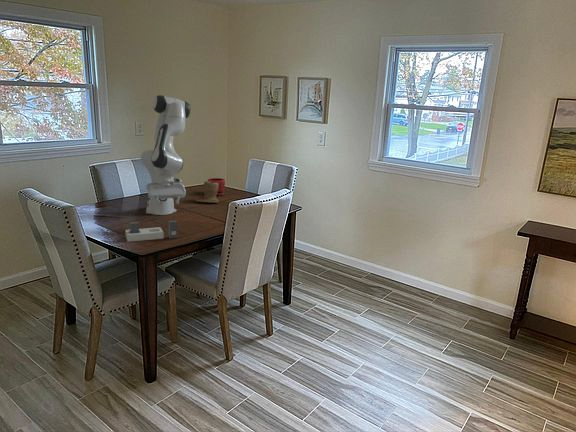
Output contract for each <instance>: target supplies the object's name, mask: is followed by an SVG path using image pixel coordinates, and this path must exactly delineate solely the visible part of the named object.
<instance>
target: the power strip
mask: <svg viewBox="0 0 576 432" xmlns="http://www.w3.org/2000/svg"><path fill="white" fill-rule="evenodd" d="M139 227H140V225H139V221H130V222H129V227H128V228H127V229H125V238H126V240H127V242H128V243H129V242H141V241H151V240H163V239H164V237H165V235H164V234H165V233H164V231H163V229H162V227H160V226H158V227H157V226H156V227H147V228H139Z"/></svg>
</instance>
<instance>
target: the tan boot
mask: <svg viewBox="0 0 576 432" xmlns="http://www.w3.org/2000/svg"><path fill="white" fill-rule="evenodd" d="M218 187H219V184H218V183H216V182H209V181H208V180H205V181H204V182H203V192H204V193H203V196H199V197H197V198H196V202H197V203H209V204H210V203H211V204H214V203H215V204H217V203H219V202H220V200H219V199H218V198H217V196H216V195H217V192H218Z"/></svg>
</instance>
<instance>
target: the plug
mask: <svg viewBox="0 0 576 432" xmlns="http://www.w3.org/2000/svg"><path fill="white" fill-rule="evenodd" d="M178 235H179V234H178V221H177V220H168V238H169V239H171V240H172V239H178Z"/></svg>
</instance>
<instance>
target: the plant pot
mask: <svg viewBox="0 0 576 432" xmlns="http://www.w3.org/2000/svg"><path fill="white" fill-rule="evenodd" d="M207 181H209V182H216V183H218V184H219V187H218V192H217V195H220V196H223V195H224V194H225V192H224V190H225V187H226V186H225V185H226V179H224V178H219V177H217V178H216V177H214V178H213V177H211V178H208V179H207ZM217 195H216V197H218V196H217Z"/></svg>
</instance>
